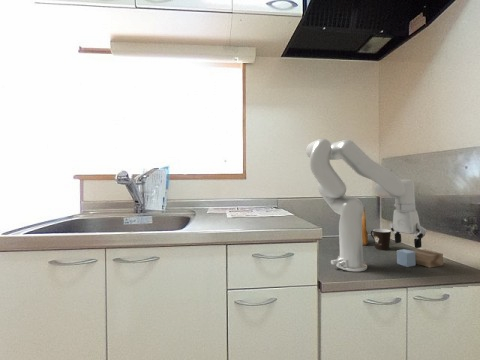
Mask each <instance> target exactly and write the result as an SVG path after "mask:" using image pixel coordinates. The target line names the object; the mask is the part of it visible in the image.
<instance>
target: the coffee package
mask: <svg viewBox="0 0 480 360" xmlns="http://www.w3.org/2000/svg"><path fill="white" fill-rule="evenodd" d="M363 208H364V211H363V218H362V244H363V246H366V245H367V244H369V242H368V241H369V240H368V238H369V237H368V235H369V233H368V231H367V221H366V210H365V206H363Z"/></svg>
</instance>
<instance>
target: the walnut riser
mask: <svg viewBox="0 0 480 360" xmlns="http://www.w3.org/2000/svg"><path fill="white" fill-rule="evenodd" d="M413 251H414V252H415V260H416V265H421V266H423V267H426V268H435V267H439V266H441V267H442V266H443V265H444V255H443V253H441V252H438V251H433V250H429V249H427V248H425V249H424V248H423V249H417V250H413Z"/></svg>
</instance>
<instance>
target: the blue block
mask: <svg viewBox="0 0 480 360" xmlns="http://www.w3.org/2000/svg"><path fill="white" fill-rule="evenodd" d="M414 251H415V250H409V249H406V248H403V249H399V250H396V263H397V265H401V266H403V267H407V268H409V267H414V266H416V265H417V263H416V260H415V252H414Z"/></svg>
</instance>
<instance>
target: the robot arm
mask: <svg viewBox="0 0 480 360" xmlns="http://www.w3.org/2000/svg"><path fill="white" fill-rule="evenodd" d="M305 152H306V155H307V157H308V158H309V167H310V170H311V173H312V174H313V176H314V177H315V179H316V181H317V182H318V184H317V190H318V192H319V194H320V195H321V198H323V200H324V201H325V202H326V203H327V205H328V206H329V207H330V209H331V210H332V211H333V212H334V213H335V214H338V215H340V218H339V221H338V233H339V234H338V235H339V237H338V240H339V241H338V242H339V244H338V245H339V255H338V256H337V258H336V259H331V260H330V264H331V265H336V267H337V268H338V269H340V270H344V271H348V272H364V271H366V270H367V269H368V265H367V263H365V262H364V254H363V251H364V249H363V247H364V245H363V244H362V218H363V211H364V210H365V207H364V204H363V202H362V201H361V200H360V199H359V198H357V197H355V196H353V195H352V196H351V195H346V193H347V185H346V183H345V182H344V180H343V179H342V178H341V176H339V174H338V173H337V171H336V170H335V169H334V168H333V166H332V164H331V161H333V160H336V161H338V160H339V161H340V160H342V161H344V162H345V163H346V164H347V166H349V167H350V168H351V169H352V170H353V171H354V172H355V173H356V174H357V175H359V176H361V177H363V178H366V179H369V180H371V181H373V182H374V183H375V185H374V187H373V190H374V193H375V194H376V195H377V196H379V197H383V198H389V199H390V198H391V199H394V201H395V202H394V205H393V206H394V207H395V209H394V210H393V215H392V222H390V223H389V225H388V226H389V227H390V231H391V232H392V234H393V235H394V243H395V244H399V243H402V234H408V235H413V237H414V240H413V243H414V248H415V249H419V248H422V239H423V238H424V236H425V235H426V233H427V229H426V228H424V226H421V223H420V218H419V214H418V210H417V209H416V199H415V197H416V196H415V183H414V181H413V180H412V179H400V178H399V177H398V176H397V175H396V174H394V173H393V172H392V171H391V170H390V169H388V168H387V167H385V166H384V165H381V164H380V163H378V162H377V161H374V160H373V159H372V158H371V157H370V156H369V155H368V154H366V152H365V151H363V149H361V148H360V147H359V145H358V144H356V143H355V142H354V141H353V140H351V139H343V140H340V141H329V140H328V139H326V138H319V139H316V140H313V141H312V142H310V143H308V145H307V146H306V149H305ZM363 207H364V208H363Z"/></svg>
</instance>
